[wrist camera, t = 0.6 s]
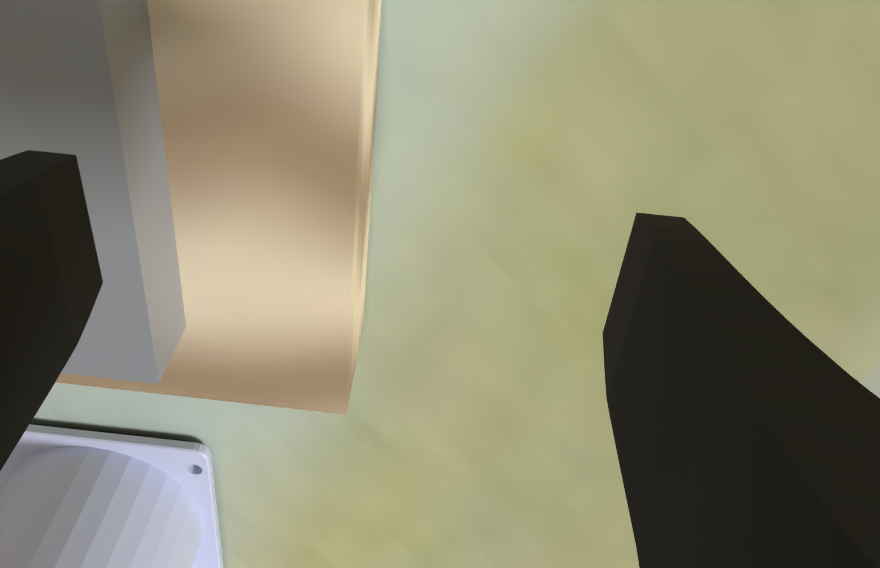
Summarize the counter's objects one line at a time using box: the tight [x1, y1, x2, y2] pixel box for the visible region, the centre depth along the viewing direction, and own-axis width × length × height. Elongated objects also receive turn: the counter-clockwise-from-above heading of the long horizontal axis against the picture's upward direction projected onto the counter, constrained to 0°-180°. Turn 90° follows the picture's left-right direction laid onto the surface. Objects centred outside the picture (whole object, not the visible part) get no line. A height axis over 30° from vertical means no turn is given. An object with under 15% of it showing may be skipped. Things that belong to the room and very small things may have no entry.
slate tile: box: [0, 0, 186, 384], centre depth 16 cm, size 9×6×2 cm, turn 174°
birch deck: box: [56, 0, 382, 414], centre depth 18 cm, size 14×14×4 cm
